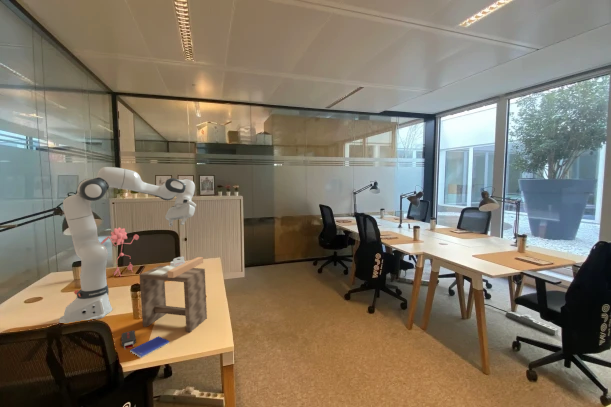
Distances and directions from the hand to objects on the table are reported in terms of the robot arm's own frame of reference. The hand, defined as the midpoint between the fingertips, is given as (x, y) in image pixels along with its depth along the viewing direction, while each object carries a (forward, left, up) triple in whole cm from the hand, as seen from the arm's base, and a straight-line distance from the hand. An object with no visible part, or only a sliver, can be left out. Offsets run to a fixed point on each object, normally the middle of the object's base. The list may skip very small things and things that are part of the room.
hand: (176, 225), depth 172 cm
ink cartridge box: (+17, +38, -44) cm, 60 cm away
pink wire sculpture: (-7, +79, -44) cm, 91 cm away
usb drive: (-37, -28, -45) cm, 64 cm away
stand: (-15, -27, -44) cm, 54 cm away
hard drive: (-32, -41, -45) cm, 68 cm away
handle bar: (-9, -30, -18) cm, 36 cm away
